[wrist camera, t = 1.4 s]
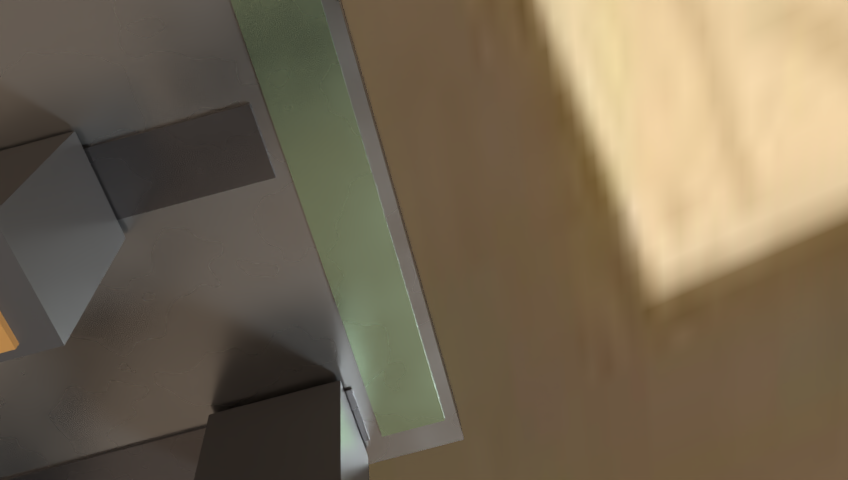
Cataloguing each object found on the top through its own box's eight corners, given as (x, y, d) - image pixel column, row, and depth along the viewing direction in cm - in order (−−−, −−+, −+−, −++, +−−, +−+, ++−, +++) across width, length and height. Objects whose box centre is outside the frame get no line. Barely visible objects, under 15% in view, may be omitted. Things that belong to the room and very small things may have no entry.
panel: (-62, 546, 26) (-85, 584, 25) (-650, -234, 16) (-743, -243, 14) (457, 411, 26) (464, 441, 24) (205, -476, 15) (193, -509, 14)
